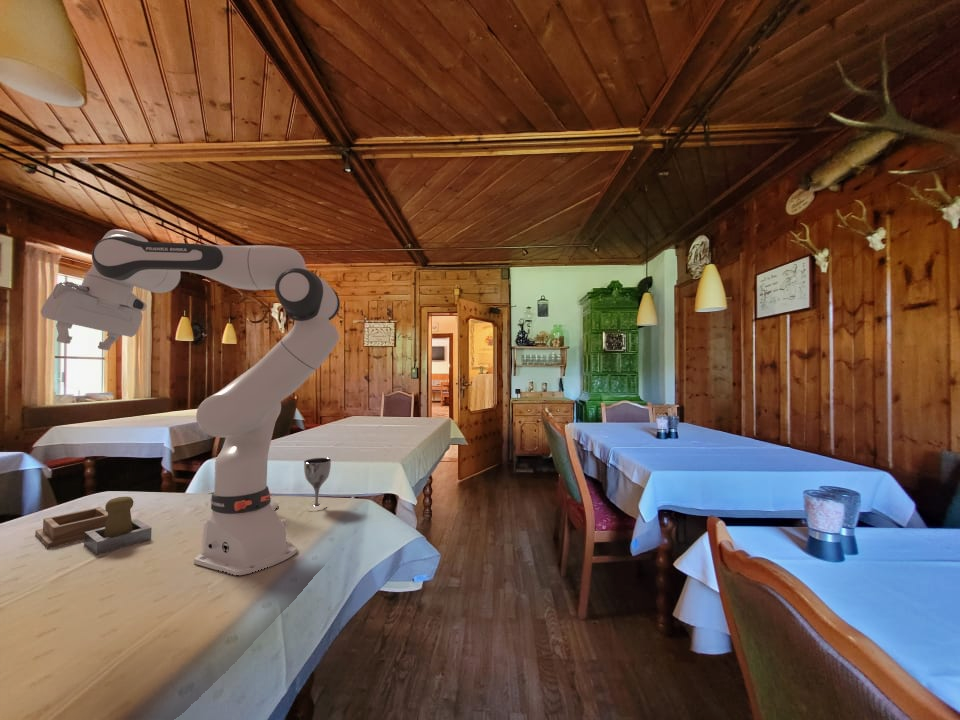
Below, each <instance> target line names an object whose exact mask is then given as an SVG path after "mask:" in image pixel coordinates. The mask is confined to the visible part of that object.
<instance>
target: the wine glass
mask: <svg viewBox="0 0 960 720" xmlns="http://www.w3.org/2000/svg"><path fill="white" fill-rule="evenodd" d="M331 463H332V459H331V458H328V457H314V458H309V459H305V460H304V461H303V471H304V472H303V473H304V477H305V479H306V481H307V483H309V485H311V486H312V488H313V490H314V496H315V499H314V505H313V504H311V505H312V506H314V507H315V506H319V505H320V504H321V503H319V492H320V489H321V487H322V486H323V484H324V483H325V482H326V480H328V478H329V475H330V472H331V465H332V464H331Z"/></svg>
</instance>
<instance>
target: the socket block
mask: <svg viewBox="0 0 960 720" xmlns="http://www.w3.org/2000/svg"><path fill="white" fill-rule="evenodd" d="M132 526H133V531H130V532H126V533H122V534H118V535H114V536H110V537H106V538H103V535H104V531H105V527H103V528H99V529H95V530H91V531H87V532H84V539H83V545H84V546H85V547H86V548H87V549H89V550H90V551H91V552H93V554H95V555H96V556H99V555H101V554H104V553H108V551H109V552H111V551H115V550H119V549H122V548H127V547H129V546H132V545H136V544H139V543H144V542H148V541H150V540H152V526H150V525H148V524H146V523H145V522H143V521H141V520H139V519H132Z"/></svg>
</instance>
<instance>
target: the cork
mask: <svg viewBox="0 0 960 720" xmlns="http://www.w3.org/2000/svg"><path fill="white" fill-rule="evenodd" d="M133 499H134V498H132V497H130V496H118V497H114V498H111V499H109V500H108V501H107V502H106V504H105V506H104V507H105V508H104V509H105V510H106V511H107V512H108V516H107V521H106V526H105V531H104V535H103V538H106V537H110V536H114V535H118V534H122V533H126V532H130V531H133V526H132V520H133V519H132V512H131V509H132V508H133V506H134V500H133Z"/></svg>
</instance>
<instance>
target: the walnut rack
mask: <svg viewBox="0 0 960 720" xmlns="http://www.w3.org/2000/svg"><path fill="white" fill-rule="evenodd" d="M107 516H108V512H107V511H106V509H105V508H103V507H101V506H98V507H94V508H93V507H92V508H89V509H88V508H87V509H84V510H83V509H82V510H79V511H74V512H69V513H65V514H59V515H55V516H51V517H45V518H43V522H42V528H40V529H35V533H34V534H35V535H34V536H36V538H38V540H39V541H40V542H41V541H42V542H43V543H44V544H43V543H42V542H41V543H42V544H43V545H44V546H45V547H46V548H47V549H51V548H56V547H59V545H60V546H64V545H67V544H66V543H68V544H72V543H74V542H75V543H76V542H78V541H84V532H87V531H91V530H95V529H99V528H103V527H105V526H106V521H107ZM71 542H72V543H71ZM63 544H64V545H63Z"/></svg>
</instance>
